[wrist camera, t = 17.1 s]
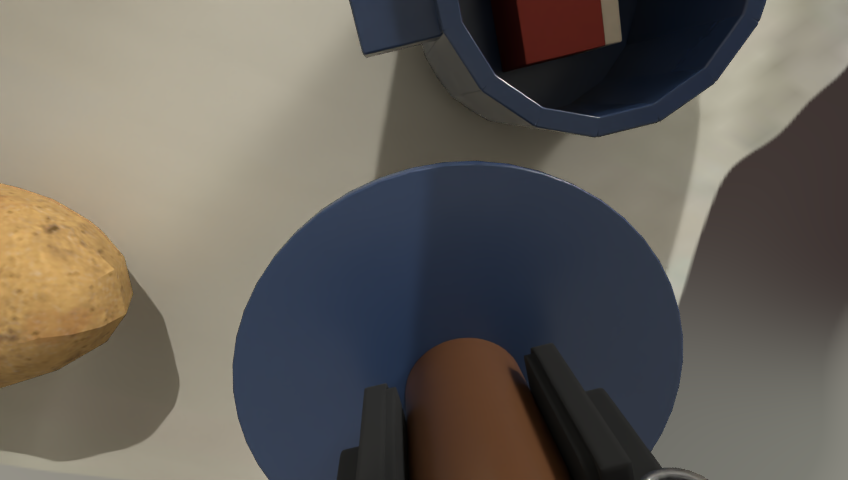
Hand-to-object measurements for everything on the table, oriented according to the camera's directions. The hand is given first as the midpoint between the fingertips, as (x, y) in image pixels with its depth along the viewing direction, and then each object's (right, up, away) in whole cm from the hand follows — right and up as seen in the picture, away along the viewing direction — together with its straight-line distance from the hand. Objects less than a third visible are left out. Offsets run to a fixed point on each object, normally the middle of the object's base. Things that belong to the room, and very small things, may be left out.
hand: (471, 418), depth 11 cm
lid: (0, 0, +2) cm, 2 cm away
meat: (+4, +16, +11) cm, 20 cm away
